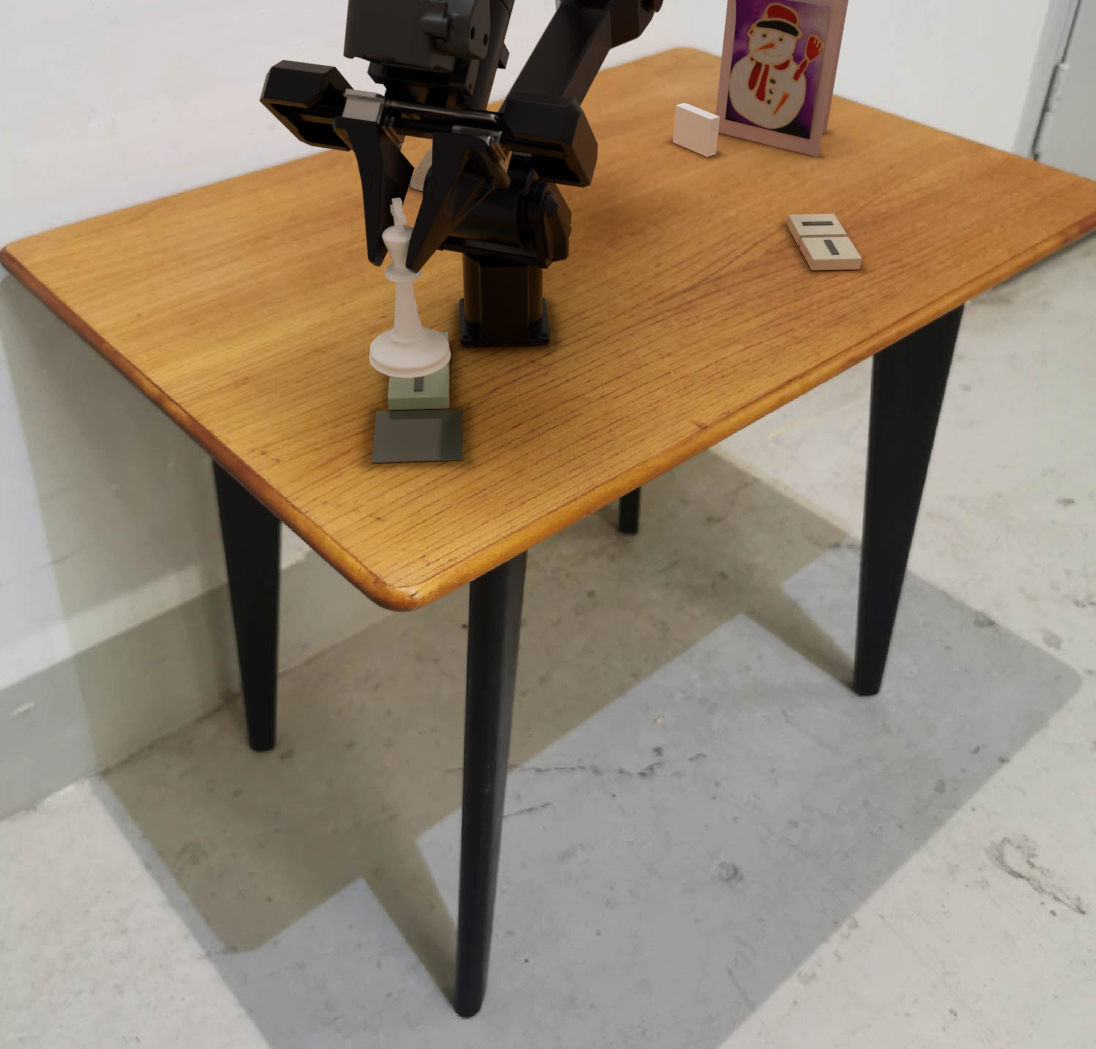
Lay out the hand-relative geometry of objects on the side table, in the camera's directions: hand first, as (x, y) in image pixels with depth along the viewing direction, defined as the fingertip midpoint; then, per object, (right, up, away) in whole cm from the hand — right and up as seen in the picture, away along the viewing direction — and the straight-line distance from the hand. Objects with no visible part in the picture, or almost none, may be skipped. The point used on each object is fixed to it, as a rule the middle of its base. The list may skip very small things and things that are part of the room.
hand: (392, 267), depth 63 cm
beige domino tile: (+32, +9, +31) cm, 45 cm away
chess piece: (0, -4, +5) cm, 7 cm away
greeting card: (+32, +25, +50) cm, 64 cm away
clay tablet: (+3, +19, +42) cm, 46 cm away
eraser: (+23, +22, +47) cm, 57 cm away
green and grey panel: (0, -6, +12) cm, 13 cm away
